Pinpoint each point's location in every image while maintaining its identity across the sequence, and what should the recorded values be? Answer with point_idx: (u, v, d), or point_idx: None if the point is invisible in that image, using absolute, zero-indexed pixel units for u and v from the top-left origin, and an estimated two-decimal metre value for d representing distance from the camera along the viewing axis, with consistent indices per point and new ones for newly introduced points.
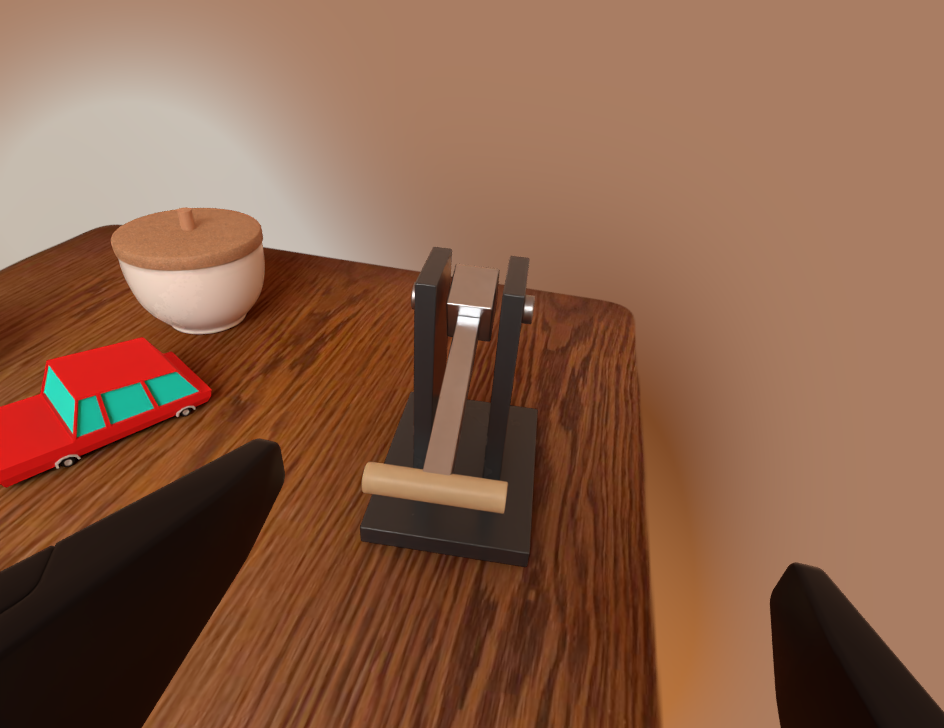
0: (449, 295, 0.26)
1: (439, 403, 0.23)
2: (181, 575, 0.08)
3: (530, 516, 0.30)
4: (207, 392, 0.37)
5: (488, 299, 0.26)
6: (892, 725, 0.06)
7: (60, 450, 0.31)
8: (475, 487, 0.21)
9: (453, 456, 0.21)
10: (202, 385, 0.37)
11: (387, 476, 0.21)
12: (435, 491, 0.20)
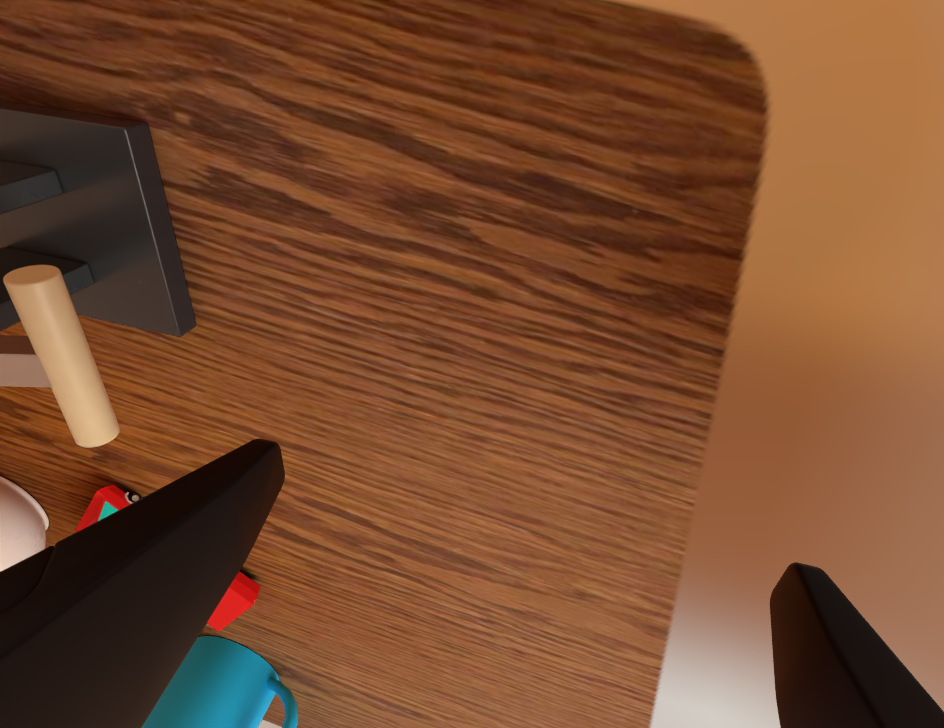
0: None
1: None
2: (181, 575, 0.08)
3: (68, 121, 0.20)
4: (102, 493, 0.34)
5: None
6: (892, 725, 0.06)
7: None
8: (37, 324, 0.14)
9: (5, 355, 0.15)
10: (97, 498, 0.34)
11: (82, 423, 0.16)
12: (72, 369, 0.15)
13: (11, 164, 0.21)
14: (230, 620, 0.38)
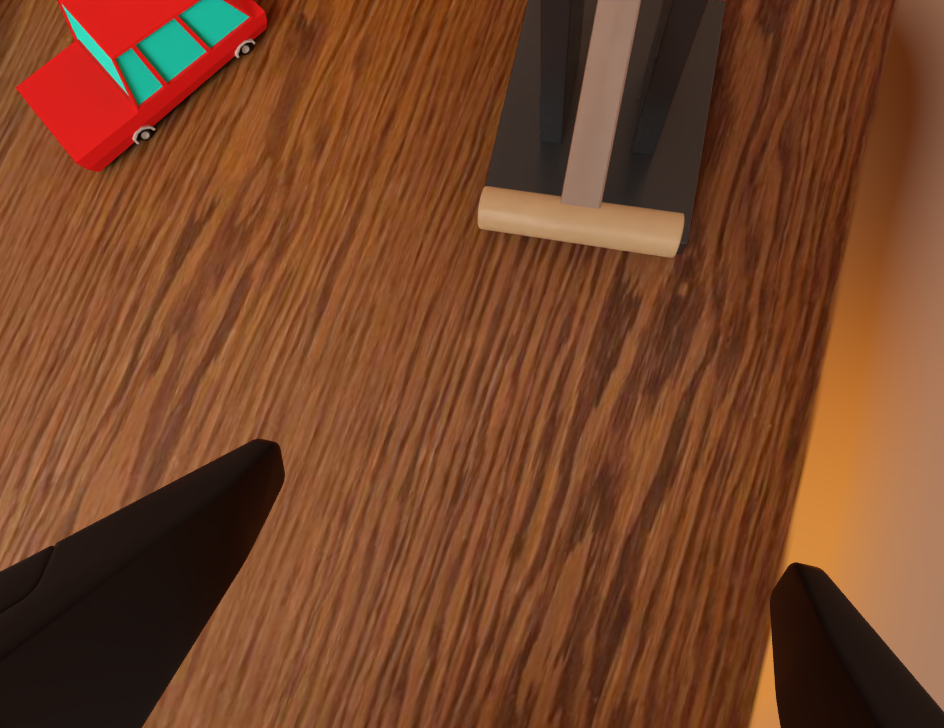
0: None
1: (585, 81, 0.14)
2: (181, 575, 0.08)
3: (694, 190, 0.23)
4: (260, 16, 0.28)
5: None
6: (892, 725, 0.06)
7: (129, 124, 0.27)
8: (636, 227, 0.15)
9: (605, 177, 0.15)
10: (251, 5, 0.28)
11: (511, 212, 0.15)
12: (578, 233, 0.15)
13: None
14: (40, 115, 0.27)
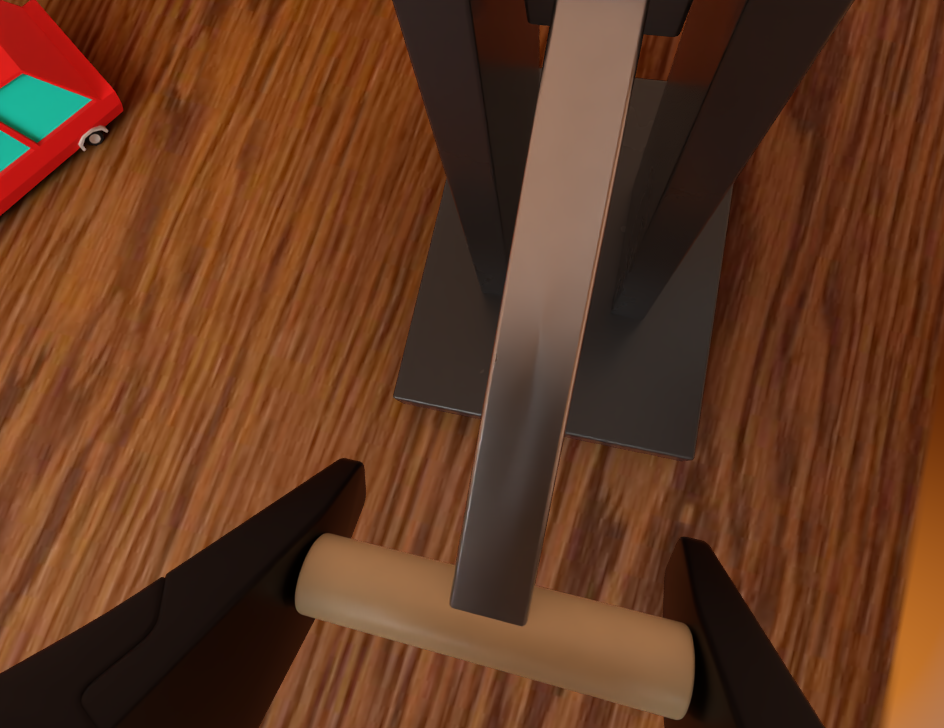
0: None
1: (492, 381, 0.07)
2: (283, 604, 0.08)
3: (703, 376, 0.16)
4: (109, 97, 0.20)
5: None
6: (733, 682, 0.06)
7: None
8: (597, 673, 0.07)
9: (535, 566, 0.07)
10: (98, 81, 0.20)
11: (356, 613, 0.08)
12: (485, 662, 0.08)
13: None
14: None
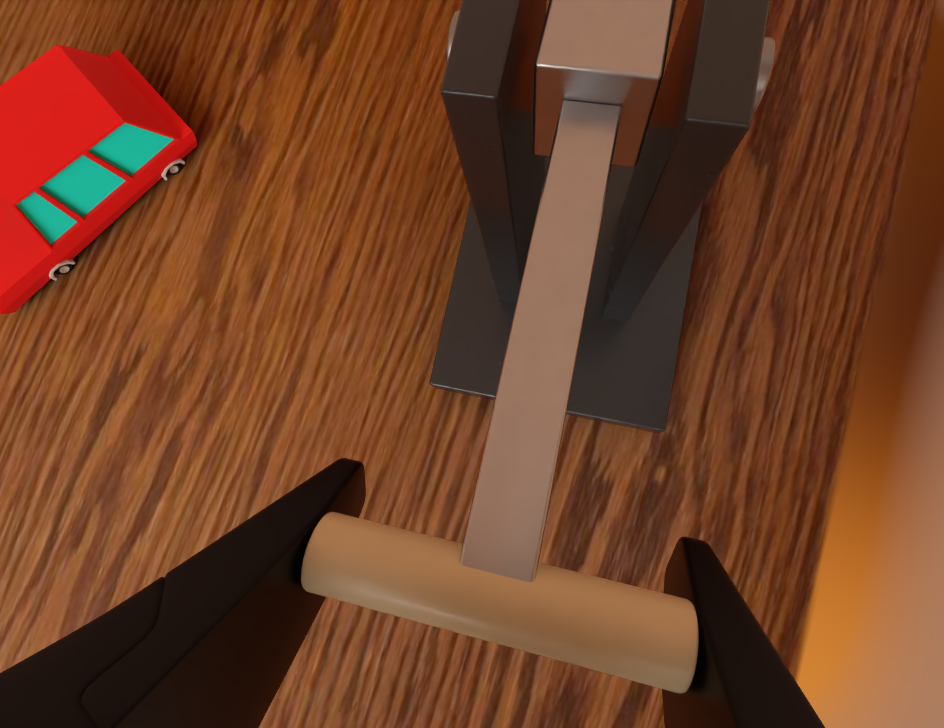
0: (543, 40, 0.10)
1: (509, 355, 0.09)
2: (283, 604, 0.08)
3: (673, 366, 0.20)
4: (188, 136, 0.24)
5: (651, 47, 0.09)
6: (733, 682, 0.06)
7: (42, 264, 0.24)
8: (604, 630, 0.07)
9: (543, 520, 0.08)
10: (178, 123, 0.25)
11: (364, 574, 0.08)
12: (491, 628, 0.07)
13: None
14: None
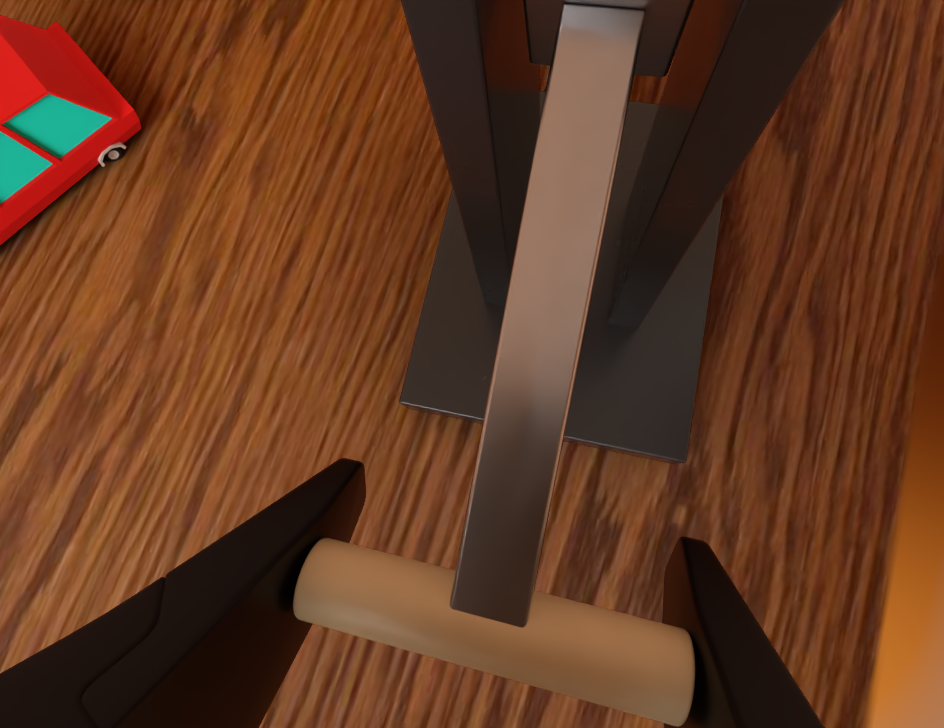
0: None
1: (496, 380, 0.07)
2: (283, 604, 0.08)
3: (694, 383, 0.17)
4: (129, 115, 0.21)
5: None
6: (733, 682, 0.06)
7: None
8: (597, 676, 0.07)
9: (536, 565, 0.07)
10: (118, 101, 0.21)
11: (355, 615, 0.08)
12: (484, 667, 0.07)
13: None
14: None
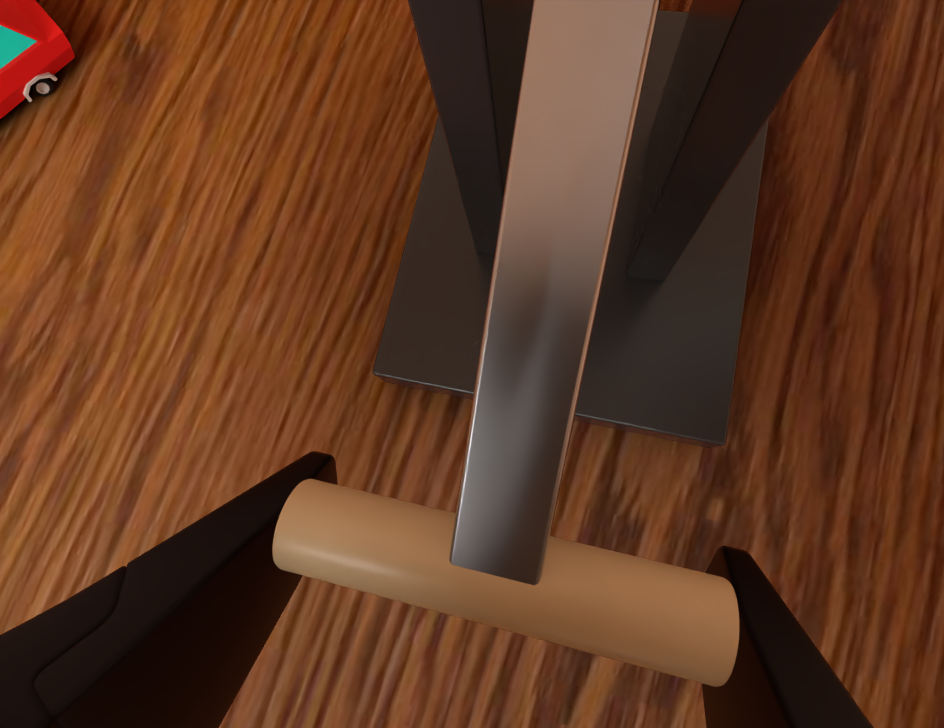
0: None
1: (494, 296, 0.06)
2: (247, 594, 0.08)
3: (735, 347, 0.13)
4: (57, 38, 0.18)
5: None
6: (789, 697, 0.06)
7: None
8: (622, 637, 0.06)
9: (550, 518, 0.06)
10: (44, 22, 0.18)
11: (342, 570, 0.07)
12: (492, 623, 0.07)
13: None
14: None
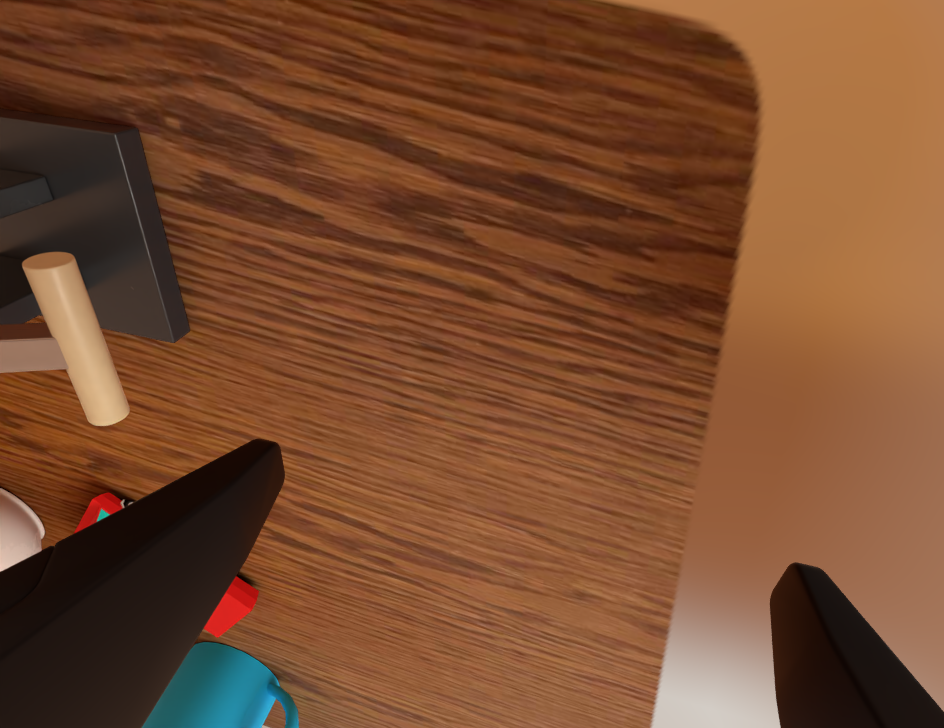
0: None
1: None
2: (181, 575, 0.08)
3: (58, 127, 0.20)
4: (97, 500, 0.33)
5: None
6: (892, 725, 0.06)
7: None
8: (56, 307, 0.15)
9: (23, 340, 0.16)
10: (93, 506, 0.34)
11: (98, 402, 0.17)
12: (89, 349, 0.16)
13: (0, 171, 0.21)
14: (229, 626, 0.37)
